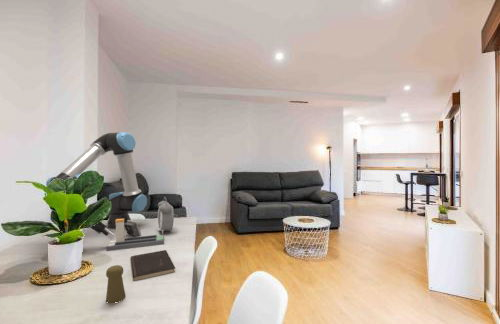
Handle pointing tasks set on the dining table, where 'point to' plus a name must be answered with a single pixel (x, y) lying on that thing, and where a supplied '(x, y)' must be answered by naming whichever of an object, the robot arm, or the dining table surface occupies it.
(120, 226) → the breaker handle
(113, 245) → the panel
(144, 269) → the hardcover book
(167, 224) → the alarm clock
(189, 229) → the dining table surface
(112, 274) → the cork
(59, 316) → the dining table surface
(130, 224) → the electrical switch
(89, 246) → the dining table surface
